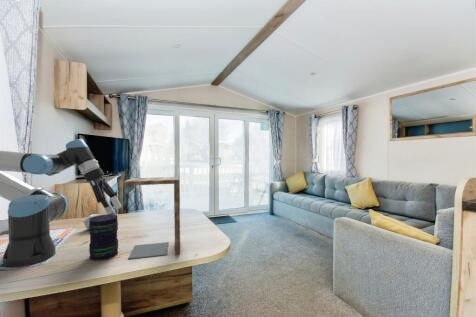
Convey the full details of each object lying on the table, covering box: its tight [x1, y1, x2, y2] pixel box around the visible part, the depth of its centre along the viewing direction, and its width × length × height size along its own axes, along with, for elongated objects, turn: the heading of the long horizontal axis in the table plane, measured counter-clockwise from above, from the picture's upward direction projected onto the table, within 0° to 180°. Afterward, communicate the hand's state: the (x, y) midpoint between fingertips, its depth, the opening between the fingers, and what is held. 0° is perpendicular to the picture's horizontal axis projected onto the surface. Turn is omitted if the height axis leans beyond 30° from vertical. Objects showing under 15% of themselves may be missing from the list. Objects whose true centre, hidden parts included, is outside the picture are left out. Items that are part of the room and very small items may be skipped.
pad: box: [127, 241, 169, 260], centre depth 94 cm, size 14×13×1 cm
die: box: [83, 213, 101, 231], centre depth 123 cm, size 8×9×10 cm
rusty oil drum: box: [88, 213, 119, 262], centre depth 90 cm, size 10×10×15 cm
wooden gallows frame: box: [123, 176, 181, 256], centre depth 94 cm, size 20×14×30 cm
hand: (115, 210), depth 106 cm, fingers open, 13 cm apart
